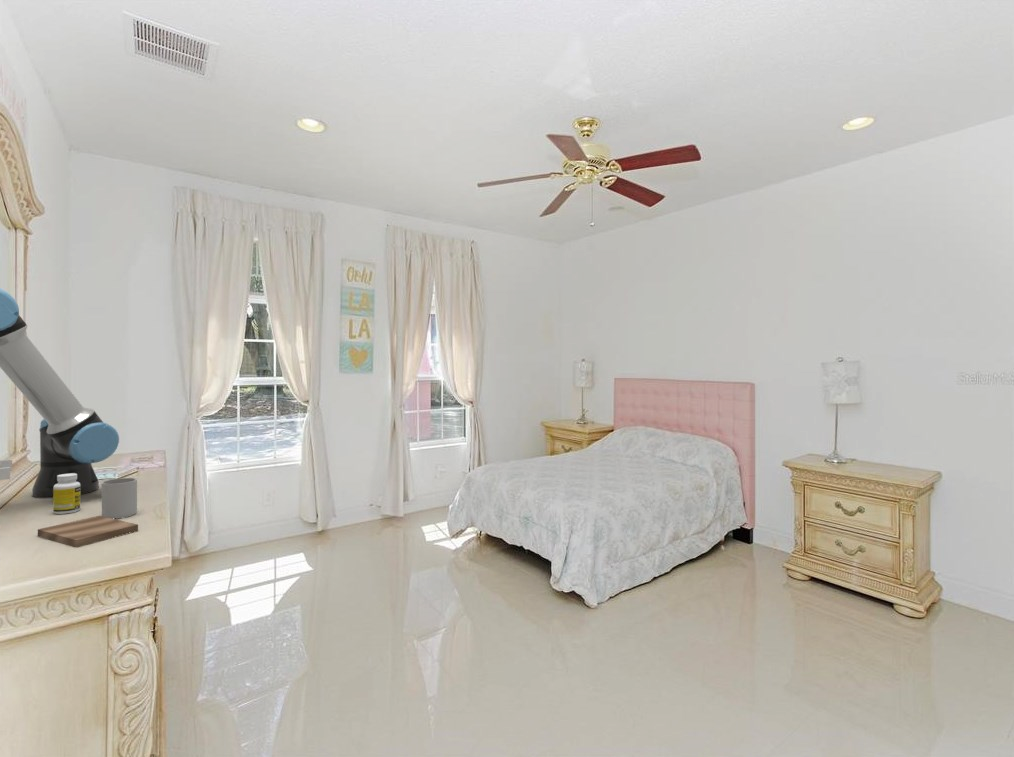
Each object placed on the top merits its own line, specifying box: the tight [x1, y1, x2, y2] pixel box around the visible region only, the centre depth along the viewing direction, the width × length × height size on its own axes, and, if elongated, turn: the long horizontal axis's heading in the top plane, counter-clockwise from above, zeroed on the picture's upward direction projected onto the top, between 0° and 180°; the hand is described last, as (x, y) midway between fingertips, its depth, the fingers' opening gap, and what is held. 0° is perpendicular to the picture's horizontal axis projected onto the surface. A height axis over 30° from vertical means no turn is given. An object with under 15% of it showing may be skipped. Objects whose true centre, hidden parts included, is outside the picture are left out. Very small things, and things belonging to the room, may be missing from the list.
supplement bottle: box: [52, 473, 82, 515], centre depth 132 cm, size 5×5×10 cm
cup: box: [101, 477, 138, 519], centre depth 130 cm, size 7×10×9 cm
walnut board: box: [37, 515, 139, 548], centre depth 115 cm, size 16×12×2 cm
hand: (11, 468), depth 124 cm, fingers open, 13 cm apart
